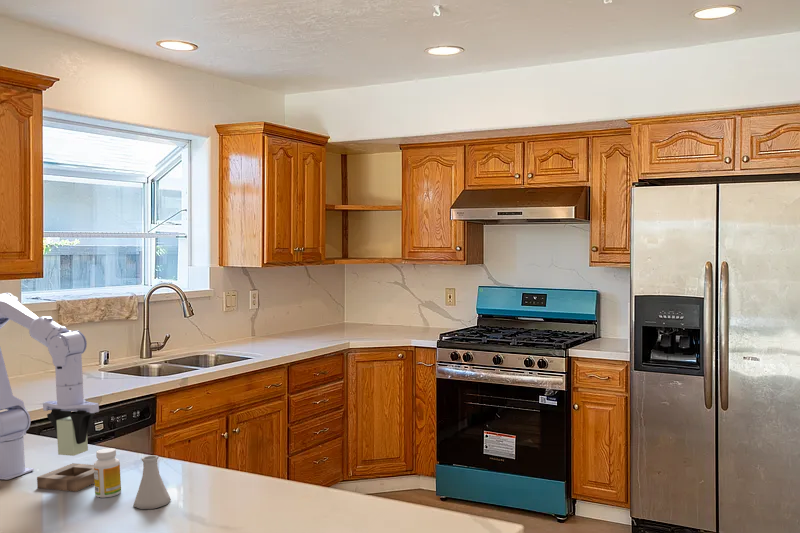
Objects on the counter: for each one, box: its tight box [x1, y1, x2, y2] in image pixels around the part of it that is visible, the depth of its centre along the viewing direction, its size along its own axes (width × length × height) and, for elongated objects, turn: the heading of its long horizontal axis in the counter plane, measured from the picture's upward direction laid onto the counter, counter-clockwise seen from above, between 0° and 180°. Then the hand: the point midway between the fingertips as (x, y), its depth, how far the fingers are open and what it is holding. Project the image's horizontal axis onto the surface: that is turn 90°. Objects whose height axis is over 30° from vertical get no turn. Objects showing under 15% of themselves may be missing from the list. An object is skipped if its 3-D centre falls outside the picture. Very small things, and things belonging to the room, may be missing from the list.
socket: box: [36, 462, 95, 492], centre depth 177 cm, size 11×11×2 cm
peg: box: [56, 416, 89, 457], centre depth 177 cm, size 4×4×8 cm
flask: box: [132, 454, 172, 510], centre depth 160 cm, size 7×7×10 cm
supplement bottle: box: [93, 447, 122, 499], centre depth 168 cm, size 5×5×10 cm
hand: (72, 442), depth 177 cm, fingers closed on peg, 4 cm apart
